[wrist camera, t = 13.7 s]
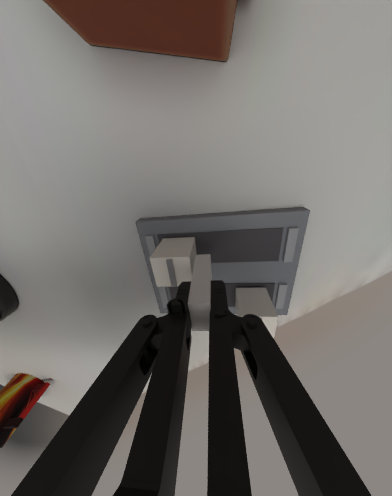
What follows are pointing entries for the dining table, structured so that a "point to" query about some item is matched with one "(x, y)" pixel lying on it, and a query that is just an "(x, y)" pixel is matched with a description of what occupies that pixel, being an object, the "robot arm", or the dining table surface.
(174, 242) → the tab front
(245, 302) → the tab back
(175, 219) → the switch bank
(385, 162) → the dining table surface
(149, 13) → the orange rectangular box
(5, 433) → the mug
